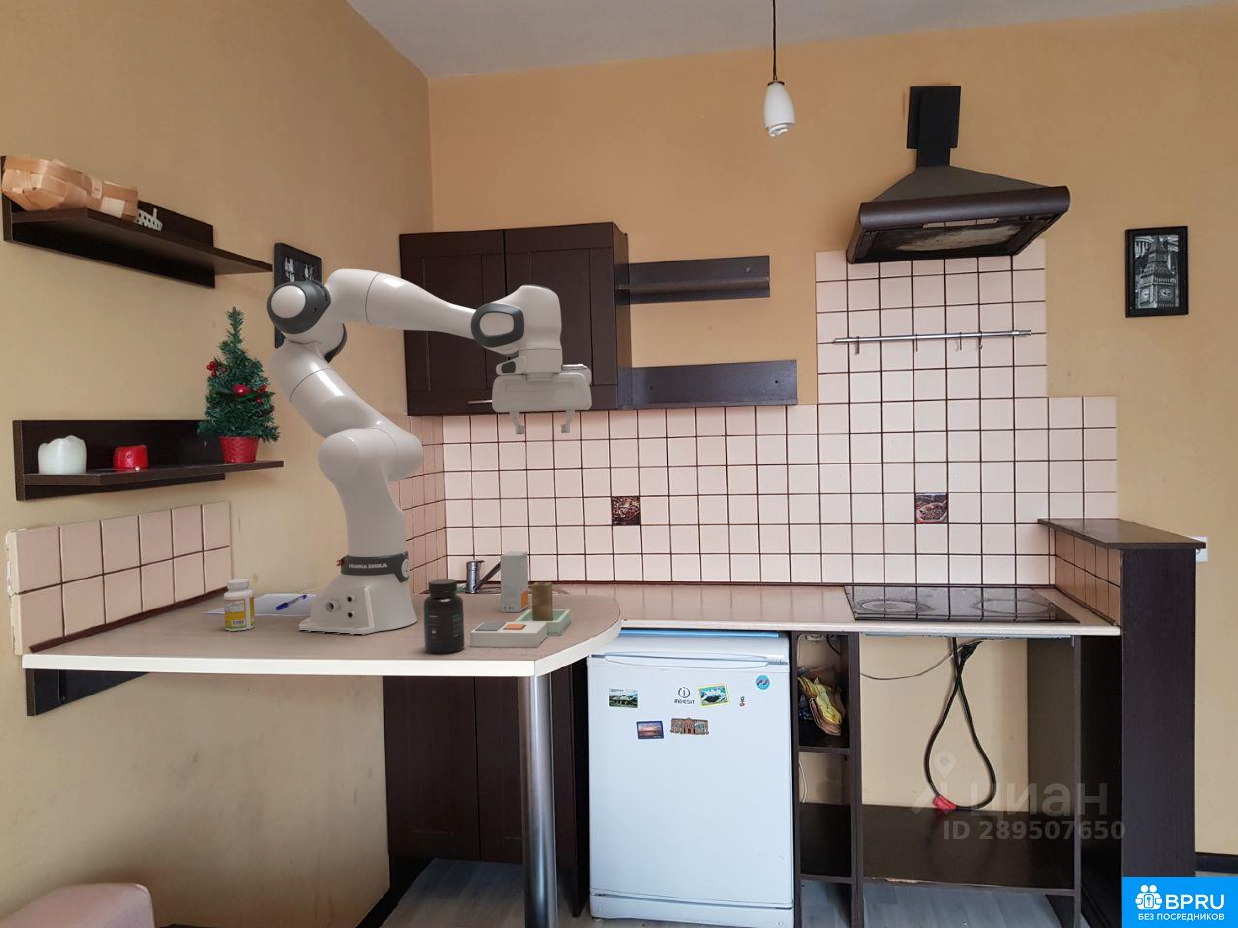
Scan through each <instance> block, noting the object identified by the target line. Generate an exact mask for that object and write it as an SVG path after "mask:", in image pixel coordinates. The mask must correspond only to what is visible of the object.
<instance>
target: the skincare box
mask: <svg viewBox="0 0 1238 928" xmlns="http://www.w3.org/2000/svg"><path fill="white" fill-rule="evenodd" d="M500 592H501V594H500V595H501V596H500V597H501V598H500V601H501V603H500V604H501V612H503V613H509V612H510V613H520V612H522V611H523V610H525V609H526V608H528V607H529V568H528V551H513V550H511V551H508V552H504V554H503V553H502V554H501V555H500Z"/></svg>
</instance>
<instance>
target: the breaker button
mask: <svg viewBox="0 0 1238 928" xmlns="http://www.w3.org/2000/svg"><path fill="white" fill-rule="evenodd" d="M524 627H525V624H508V625H507V626H506V627H505V628H504V630H522V629H523V628H524Z"/></svg>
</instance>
